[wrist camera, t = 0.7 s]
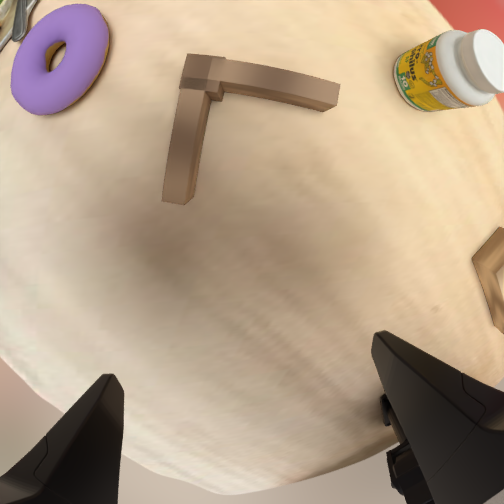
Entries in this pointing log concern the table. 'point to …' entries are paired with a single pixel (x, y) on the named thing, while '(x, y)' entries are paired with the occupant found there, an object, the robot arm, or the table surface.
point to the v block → (212, 88)
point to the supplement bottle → (452, 71)
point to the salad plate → (14, 19)
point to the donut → (72, 65)
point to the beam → (493, 275)
